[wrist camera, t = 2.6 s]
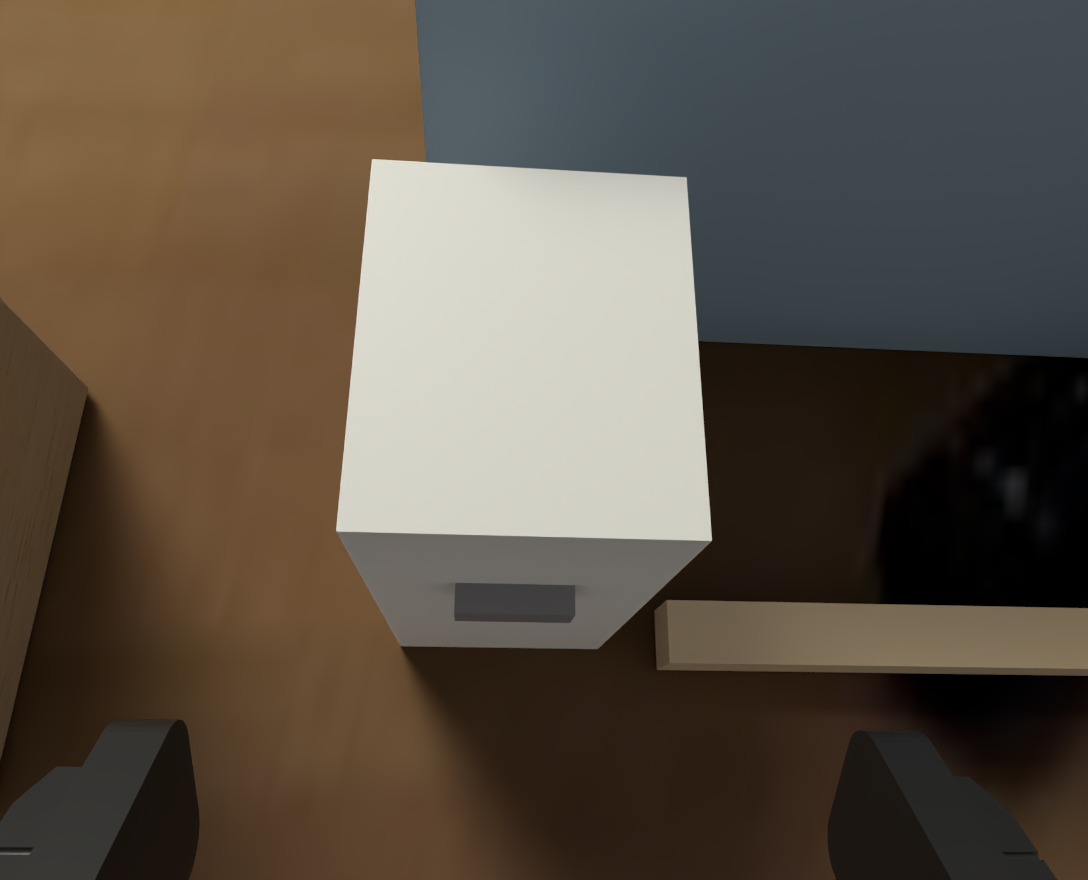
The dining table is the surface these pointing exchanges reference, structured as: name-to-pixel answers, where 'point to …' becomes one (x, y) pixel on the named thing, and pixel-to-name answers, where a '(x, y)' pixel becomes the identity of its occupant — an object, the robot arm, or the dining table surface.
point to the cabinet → (523, 403)
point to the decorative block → (29, 482)
